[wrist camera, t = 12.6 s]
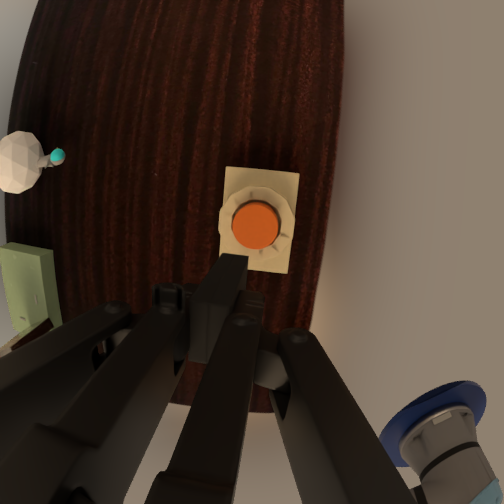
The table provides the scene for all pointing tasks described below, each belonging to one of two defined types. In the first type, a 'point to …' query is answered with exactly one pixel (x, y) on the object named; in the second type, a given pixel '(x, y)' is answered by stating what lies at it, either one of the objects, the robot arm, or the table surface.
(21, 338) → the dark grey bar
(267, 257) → the box
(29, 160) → the perfume bottle
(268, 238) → the button
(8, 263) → the clamp block
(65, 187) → the table surface
